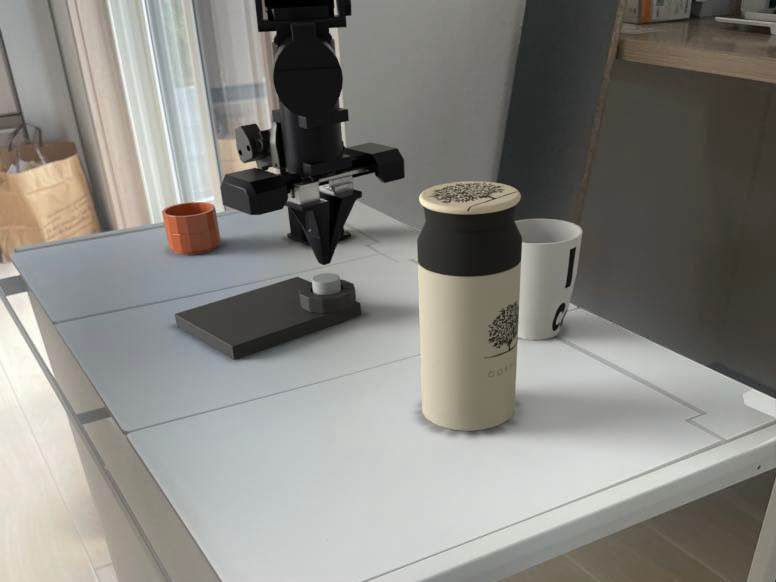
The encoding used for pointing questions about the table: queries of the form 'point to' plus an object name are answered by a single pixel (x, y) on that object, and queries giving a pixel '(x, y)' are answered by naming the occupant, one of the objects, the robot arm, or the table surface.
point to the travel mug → (469, 303)
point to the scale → (268, 316)
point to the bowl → (191, 228)
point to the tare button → (326, 284)
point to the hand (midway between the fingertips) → (324, 263)
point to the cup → (546, 275)
